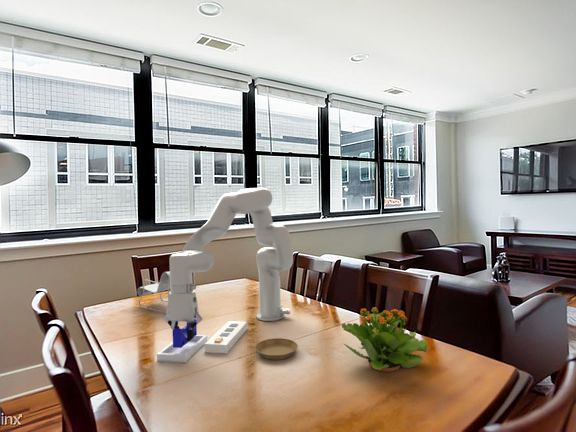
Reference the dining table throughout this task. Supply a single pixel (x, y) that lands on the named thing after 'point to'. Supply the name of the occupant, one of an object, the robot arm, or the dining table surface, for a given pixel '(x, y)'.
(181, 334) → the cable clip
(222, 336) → the power strip
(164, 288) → the chair
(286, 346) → the plant saucer
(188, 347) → the cable tray
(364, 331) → the potted flower
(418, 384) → the dining table surface
